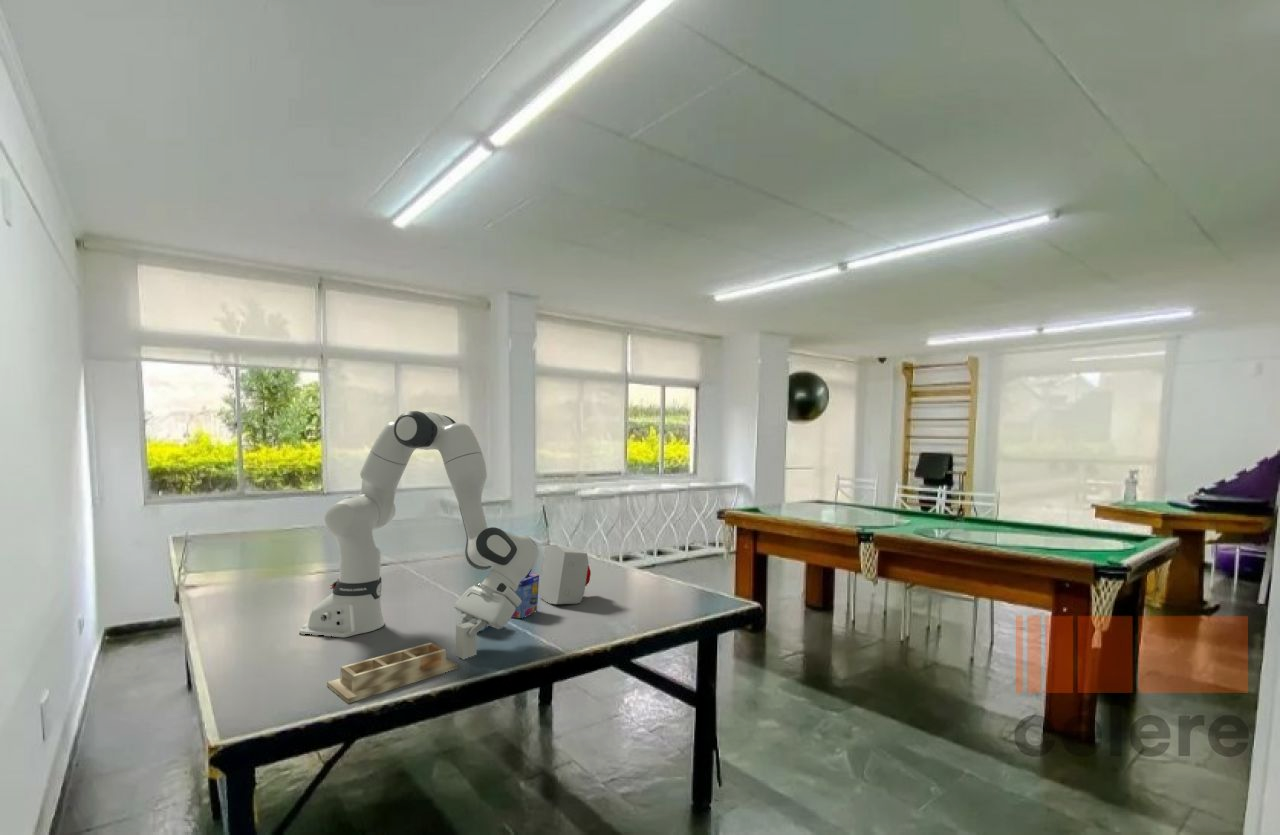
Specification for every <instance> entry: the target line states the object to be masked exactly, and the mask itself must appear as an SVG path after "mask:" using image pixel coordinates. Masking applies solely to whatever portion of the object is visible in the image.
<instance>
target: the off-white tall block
mask: <svg viewBox="0 0 1280 835" xmlns="http://www.w3.org/2000/svg"><path fill="white" fill-rule="evenodd" d="M475 625H476V624H474V623H471V622H467V623H463V624H460V623H459V624H456V626H455V630H456V632H455V657H456V656H458V657H460V658H462V659H463V660H465V659H464V658H467V657H470V656H473V655H476V656H477V645H478V644H477V642H478V640H477V638H478V635H477V634H478V633H477V634H476V635H475V636H474V638H472V637H470V636H468V635H467V631H468V630H469V629H470V628H473V627H474V626H475ZM458 657H457V658H458ZM473 657H474V656H473ZM460 658H459V659H460ZM470 658H471V657H470ZM462 659H461V660H462ZM467 659H468V658H467Z"/></svg>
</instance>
